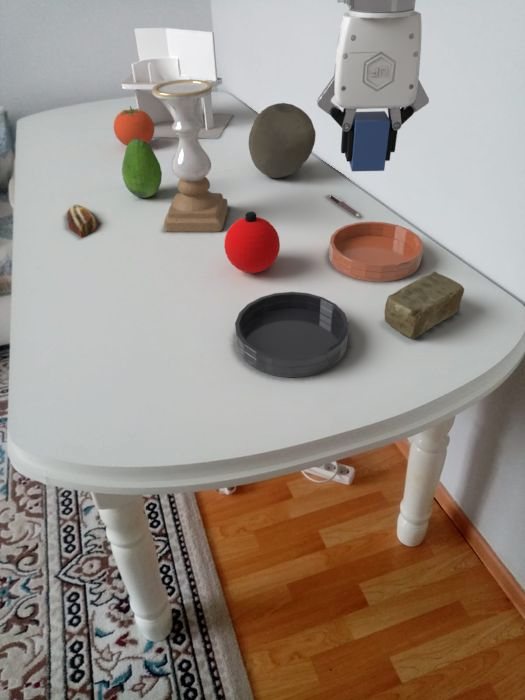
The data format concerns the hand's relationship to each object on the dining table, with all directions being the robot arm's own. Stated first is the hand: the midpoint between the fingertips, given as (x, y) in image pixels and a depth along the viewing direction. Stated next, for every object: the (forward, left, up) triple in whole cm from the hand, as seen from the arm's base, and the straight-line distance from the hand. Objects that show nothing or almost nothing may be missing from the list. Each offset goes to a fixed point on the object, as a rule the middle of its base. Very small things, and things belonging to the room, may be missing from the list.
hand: (367, 156), depth 72 cm
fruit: (+53, +6, -20) cm, 56 cm away
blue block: (0, 0, -1) cm, 1 cm away
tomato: (+82, -10, -20) cm, 85 cm away
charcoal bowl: (-4, +19, -19) cm, 27 cm away
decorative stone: (+52, +22, -20) cm, 60 cm away
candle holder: (+36, +5, -20) cm, 41 cm away
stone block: (-14, +2, -20) cm, 24 cm away
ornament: (+14, +10, -20) cm, 26 cm away
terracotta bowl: (+2, -7, -19) cm, 21 cm away
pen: (+19, -19, -20) cm, 33 cm away
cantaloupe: (+40, -22, -20) cm, 49 cm away
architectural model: (+89, -28, -20) cm, 95 cm away
